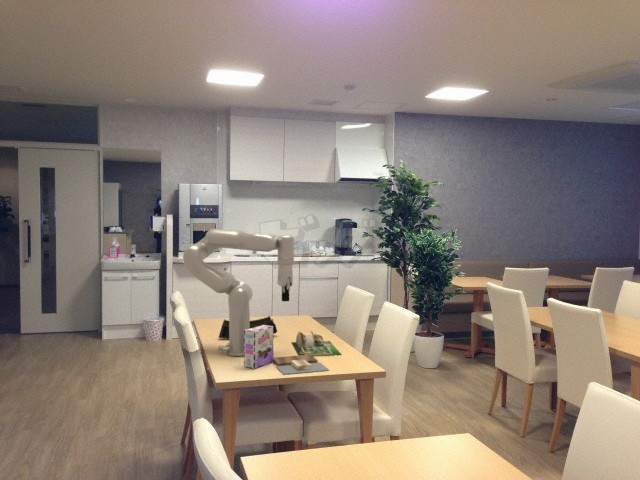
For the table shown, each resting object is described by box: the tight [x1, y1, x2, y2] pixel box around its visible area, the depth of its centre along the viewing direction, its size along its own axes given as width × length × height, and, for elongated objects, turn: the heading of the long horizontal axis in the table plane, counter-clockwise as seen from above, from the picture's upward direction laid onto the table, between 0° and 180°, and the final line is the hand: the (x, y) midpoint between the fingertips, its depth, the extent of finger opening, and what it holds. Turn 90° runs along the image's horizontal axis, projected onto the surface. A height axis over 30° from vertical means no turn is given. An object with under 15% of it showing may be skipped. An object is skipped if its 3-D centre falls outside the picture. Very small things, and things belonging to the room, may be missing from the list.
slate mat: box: [275, 361, 330, 376], centre depth 240 cm, size 20×12×1 cm, turn 110°
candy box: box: [243, 325, 274, 370], centre depth 246 cm, size 14×6×16 cm, turn 148°
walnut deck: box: [272, 355, 319, 366], centre depth 250 cm, size 18×10×2 cm, turn 110°
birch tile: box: [291, 360, 311, 371], centre depth 241 cm, size 6×9×2 cm, turn 20°
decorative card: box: [291, 330, 342, 358], centre depth 277 cm, size 33×8×20 cm
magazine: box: [218, 315, 278, 340], centre depth 297 cm, size 17×3×30 cm
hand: (285, 300), depth 263 cm, fingers closed
